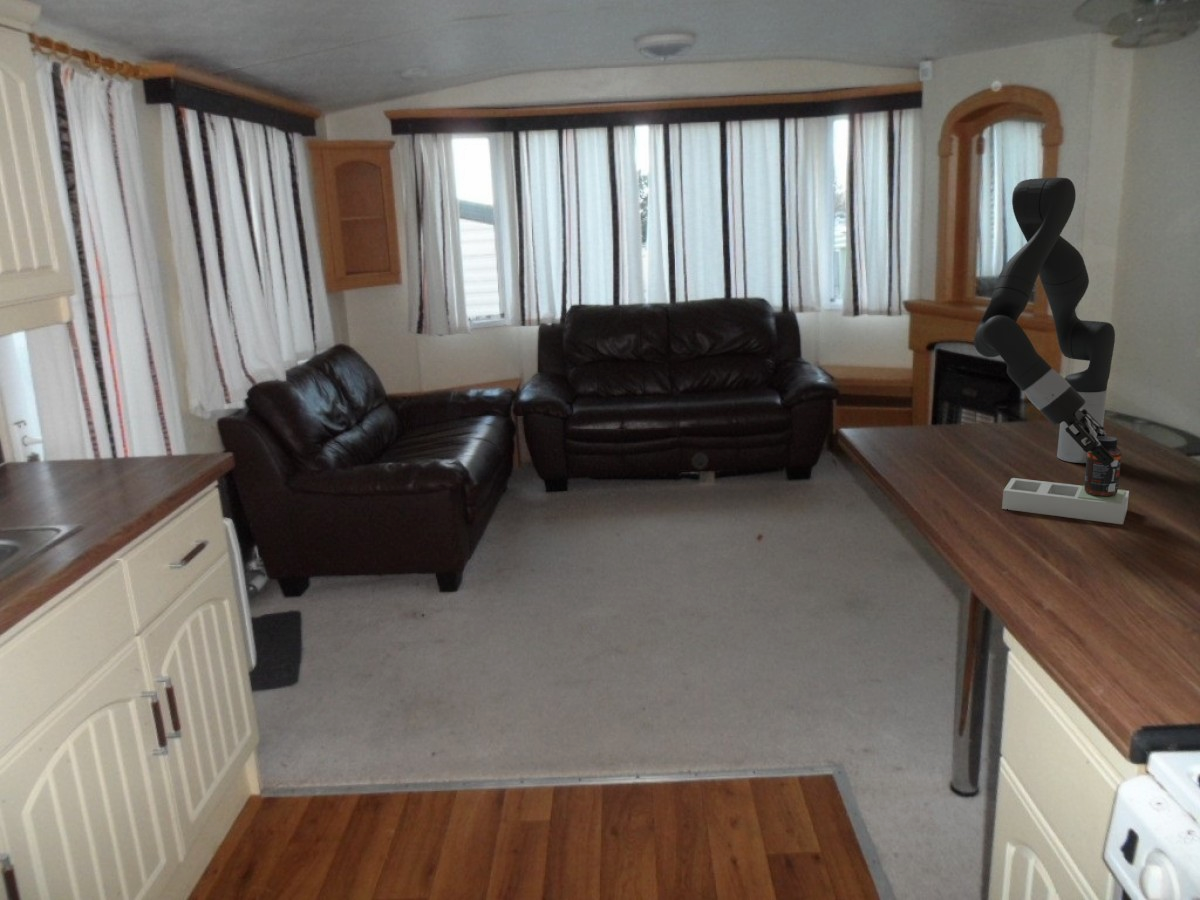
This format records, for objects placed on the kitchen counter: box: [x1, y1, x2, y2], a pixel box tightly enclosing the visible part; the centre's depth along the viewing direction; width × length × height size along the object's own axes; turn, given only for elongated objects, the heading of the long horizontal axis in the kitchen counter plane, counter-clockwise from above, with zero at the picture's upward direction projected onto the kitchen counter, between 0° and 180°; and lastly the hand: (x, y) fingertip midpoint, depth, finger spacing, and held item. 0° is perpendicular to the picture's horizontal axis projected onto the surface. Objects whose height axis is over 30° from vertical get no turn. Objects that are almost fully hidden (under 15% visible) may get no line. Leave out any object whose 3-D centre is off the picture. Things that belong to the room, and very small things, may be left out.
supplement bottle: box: [1083, 435, 1122, 496], centre depth 187 cm, size 6×6×11 cm
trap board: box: [1001, 477, 1130, 525], centre depth 192 cm, size 10×22×4 cm, turn 58°
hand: (1112, 458), depth 186 cm, fingers open, 8 cm apart
